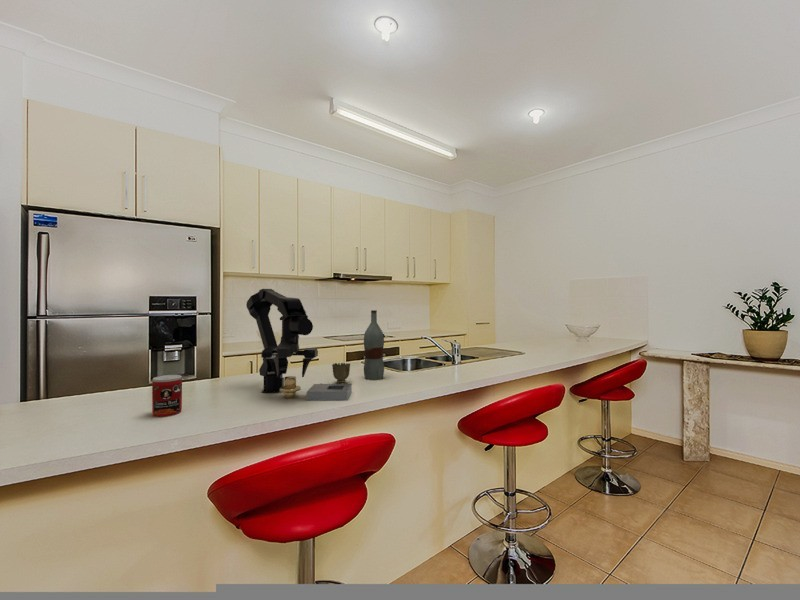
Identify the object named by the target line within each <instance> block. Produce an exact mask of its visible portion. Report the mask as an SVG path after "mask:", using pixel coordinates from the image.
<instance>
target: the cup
mask: <svg viewBox="0 0 800 600" xmlns="http://www.w3.org/2000/svg"><path fill="white" fill-rule="evenodd" d="M331 365H332V372H333V373H332V374H333V377H334V379H335V380H336V382H337V383H336V384H346V380H347V379H348V378H349V375H350V372H351V371H350V369H351V363H349V362H348V363H346V362H341V363H340V362H338V363H337V362H335V363H332V364H331Z"/></svg>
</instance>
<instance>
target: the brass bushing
mask: <svg viewBox="0 0 800 600" xmlns="http://www.w3.org/2000/svg"><path fill="white" fill-rule="evenodd" d="M283 378H284V386H283V387H280V393H284V396H283V397H285V398H284V399H294V398H296V397H297V392H299V391H301V390H302V388H301V387H302V386H300V385H297V376H295V375H294V376H293V375H288V376H285V377H283Z"/></svg>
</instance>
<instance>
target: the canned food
mask: <svg viewBox="0 0 800 600" xmlns="http://www.w3.org/2000/svg"><path fill="white" fill-rule="evenodd" d="M151 383H152V384H151V389H152V390H151V391H152V393H151V395H152V396H151V397H152V398H151V399H152V400H151V402H152V405H151V407H152V409H151V410H152V411H151V412H152V415H153V417H157V418H164V417H166V418H167V417H172V416H175V415H178V414H180V413H181V412H182V410H183V375H180V374H165V375H158V376H155V377H153V378H152V382H151Z"/></svg>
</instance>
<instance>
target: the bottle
mask: <svg viewBox="0 0 800 600" xmlns="http://www.w3.org/2000/svg"><path fill="white" fill-rule="evenodd" d="M377 313H378V312H377V309H376V310H375V309H372V310H370V323H369V325H368V327H367V329H366V330H365V331H364V334H363V348H364V349H363V350H364V363H363V376H364V379H365V380H369V381H377V380H378V381H379V380H382V379H383V378H384V375H385V365H384V358H383V357H384V344H385V336H384V332H383V330H382V329H381V327H380V326H379V324H378V321H377V320H378V319H377Z"/></svg>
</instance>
